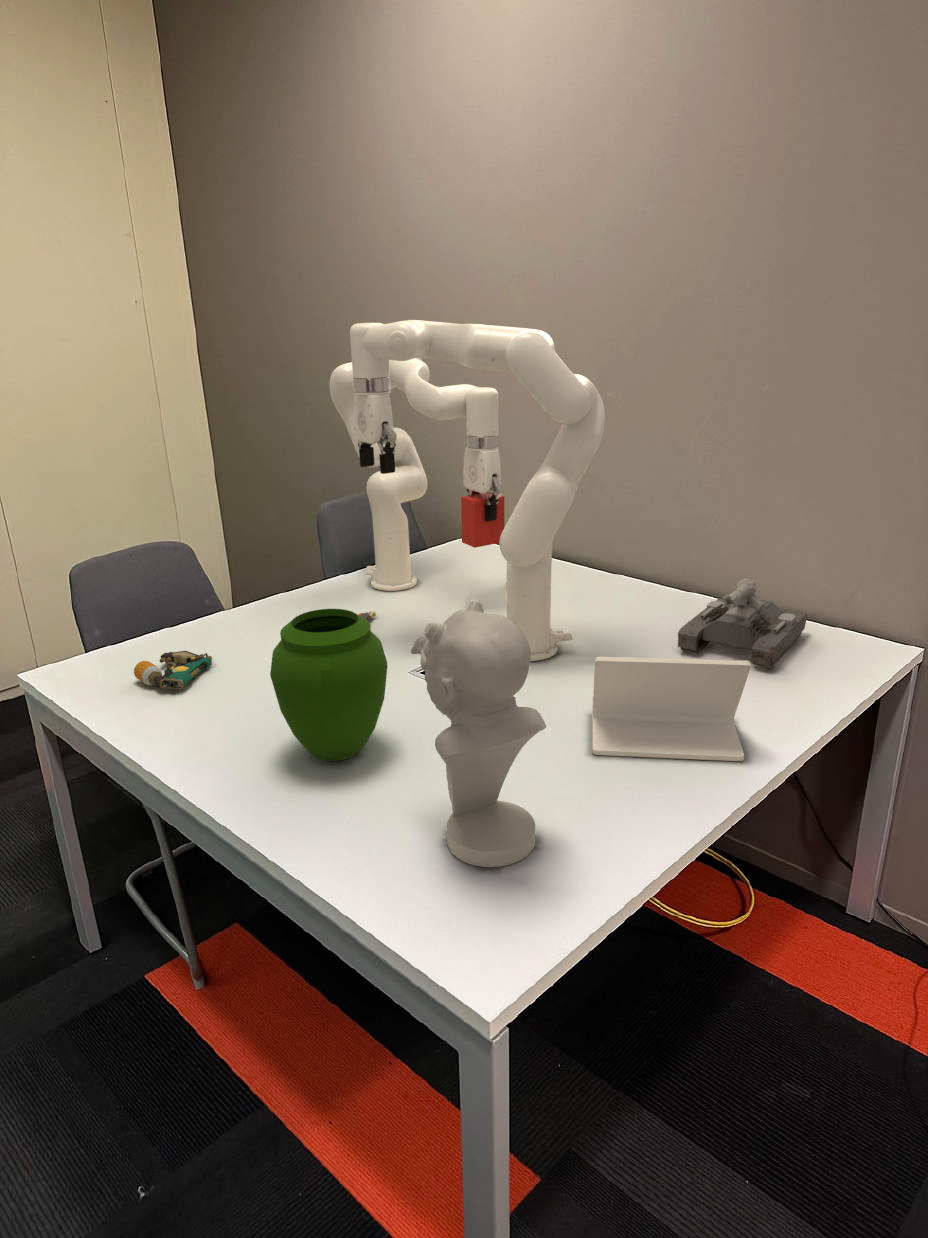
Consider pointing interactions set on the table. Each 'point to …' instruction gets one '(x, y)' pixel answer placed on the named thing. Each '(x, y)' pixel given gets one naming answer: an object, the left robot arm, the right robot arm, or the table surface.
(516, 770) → the table surface
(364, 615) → the toy gun
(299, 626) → the vase
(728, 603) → the toy
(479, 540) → the block
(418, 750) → the table surface
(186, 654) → the spray gun
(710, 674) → the tablet stand
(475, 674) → the bust sculpture
